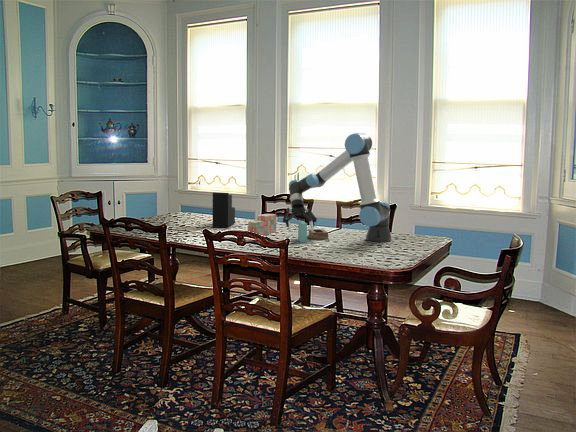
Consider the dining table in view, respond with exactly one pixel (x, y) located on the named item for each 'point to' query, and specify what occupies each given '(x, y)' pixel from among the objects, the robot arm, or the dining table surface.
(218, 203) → the bookend
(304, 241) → the tile
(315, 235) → the brown hollow block
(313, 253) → the dining table surface
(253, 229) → the stack of blocks
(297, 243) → the mat
